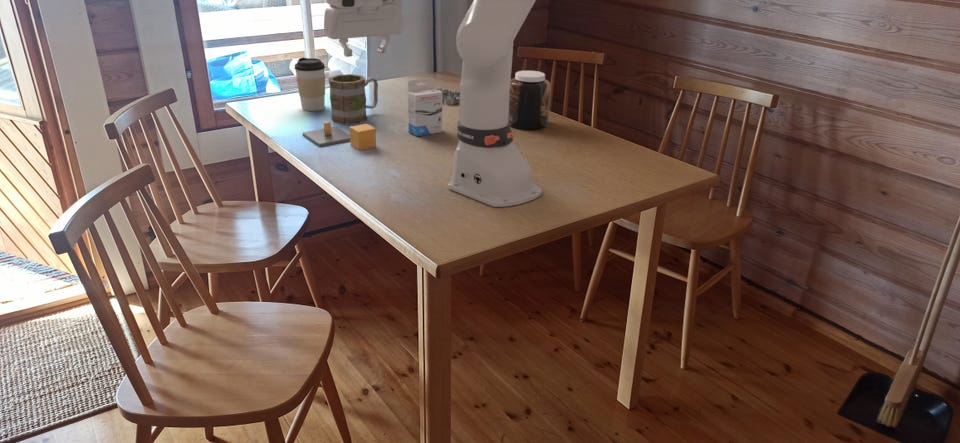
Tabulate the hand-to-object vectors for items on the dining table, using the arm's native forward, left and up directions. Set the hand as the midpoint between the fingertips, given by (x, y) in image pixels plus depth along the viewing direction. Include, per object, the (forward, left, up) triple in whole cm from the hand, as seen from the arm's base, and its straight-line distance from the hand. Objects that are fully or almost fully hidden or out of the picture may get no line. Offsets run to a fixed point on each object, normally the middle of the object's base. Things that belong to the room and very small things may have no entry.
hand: (365, 54), depth 169 cm
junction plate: (+11, +7, -24) cm, 27 cm away
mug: (+24, -8, -24) cm, 35 cm away
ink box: (+1, -18, -24) cm, 30 cm away
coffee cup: (+40, -1, -24) cm, 47 cm away
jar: (-9, -47, -24) cm, 54 cm away
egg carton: (+25, -41, -24) cm, 54 cm away
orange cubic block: (0, +2, -24) cm, 24 cm away
